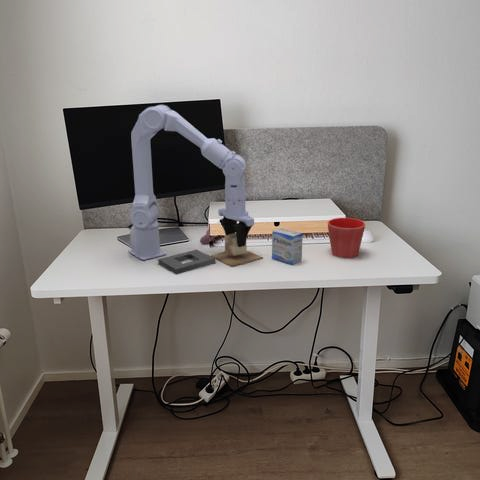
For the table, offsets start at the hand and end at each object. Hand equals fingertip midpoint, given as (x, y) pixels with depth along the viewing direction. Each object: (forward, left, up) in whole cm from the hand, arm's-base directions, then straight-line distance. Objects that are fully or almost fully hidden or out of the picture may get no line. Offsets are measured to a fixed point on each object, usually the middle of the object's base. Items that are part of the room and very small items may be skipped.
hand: (236, 244), depth 149 cm
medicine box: (+11, +10, -4) cm, 16 cm away
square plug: (0, 0, -2) cm, 2 cm away
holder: (-5, -14, -4) cm, 15 cm away
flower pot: (+18, +27, -4) cm, 33 cm away
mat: (0, 0, -4) cm, 4 cm away
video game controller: (-18, +4, -4) cm, 19 cm away
